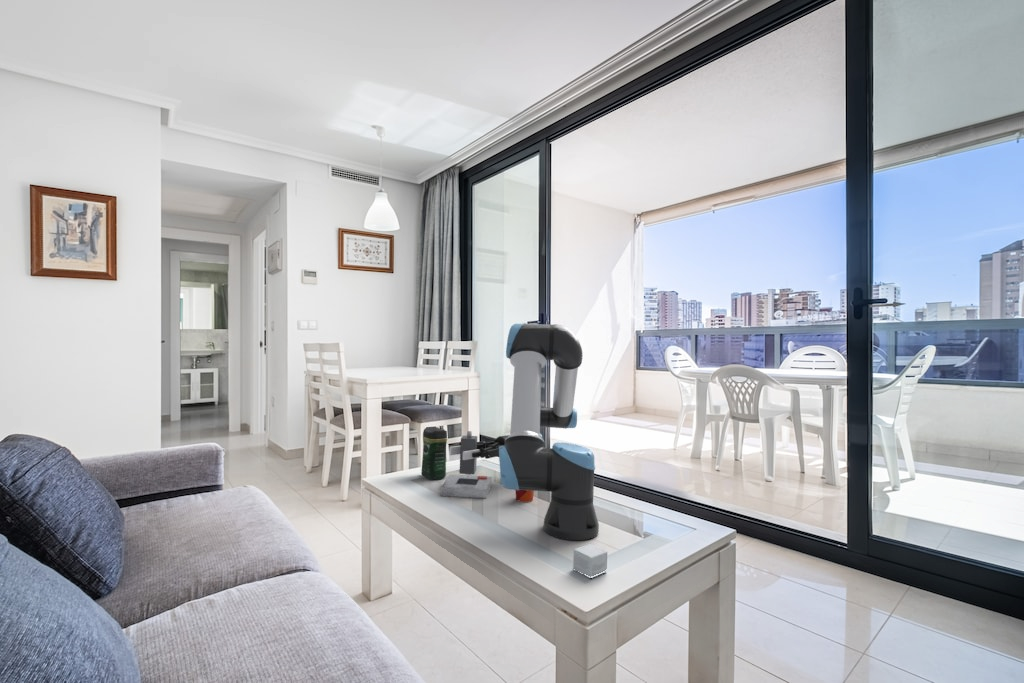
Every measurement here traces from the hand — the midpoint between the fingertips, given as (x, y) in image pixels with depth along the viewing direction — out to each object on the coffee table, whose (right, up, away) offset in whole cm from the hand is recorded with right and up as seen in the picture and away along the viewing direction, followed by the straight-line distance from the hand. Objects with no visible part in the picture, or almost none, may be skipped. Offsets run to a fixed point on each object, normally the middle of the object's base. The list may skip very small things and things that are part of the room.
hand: (456, 453), depth 164 cm
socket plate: (+3, -13, +3) cm, 14 cm away
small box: (+36, -15, -54) cm, 66 cm away
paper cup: (+23, -14, -5) cm, 27 cm away
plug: (+4, -7, +3) cm, 9 cm away
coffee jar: (-11, -13, +18) cm, 25 cm away
